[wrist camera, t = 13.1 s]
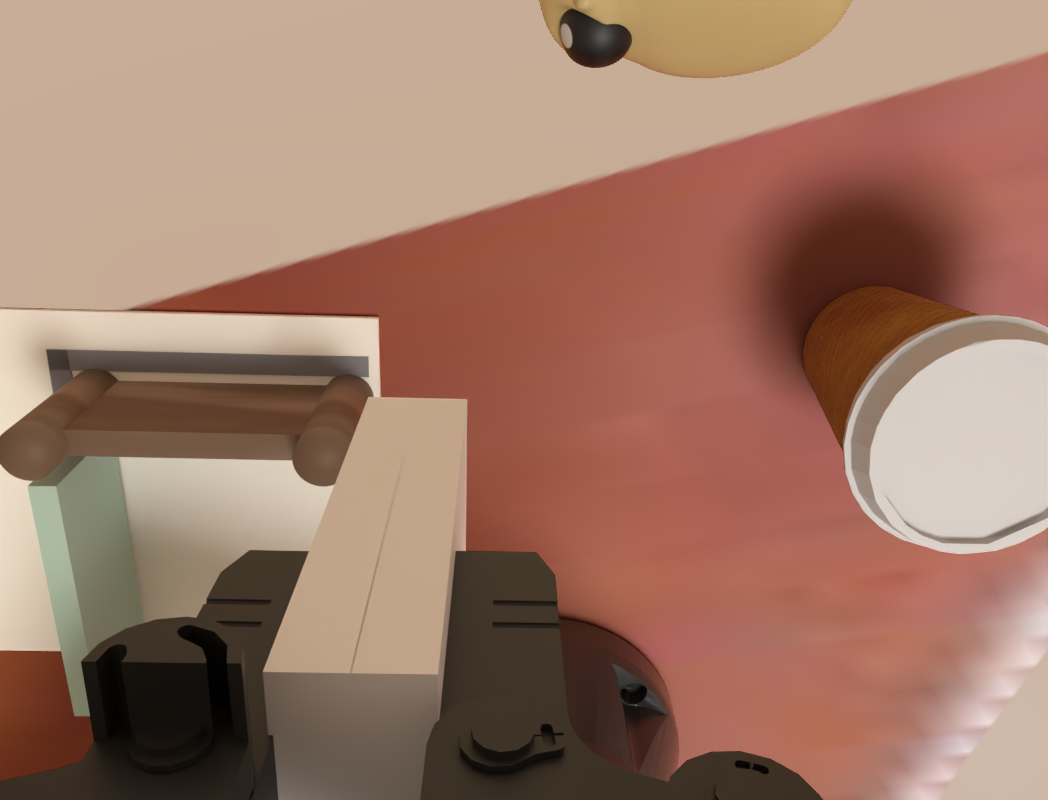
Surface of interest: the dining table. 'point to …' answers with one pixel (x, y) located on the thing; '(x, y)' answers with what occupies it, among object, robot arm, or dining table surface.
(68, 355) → the card
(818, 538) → the dining table surface
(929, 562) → the dining table surface
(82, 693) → the green fence panel
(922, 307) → the disposable coffee cup
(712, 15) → the toy pig
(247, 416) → the walnut fence section
